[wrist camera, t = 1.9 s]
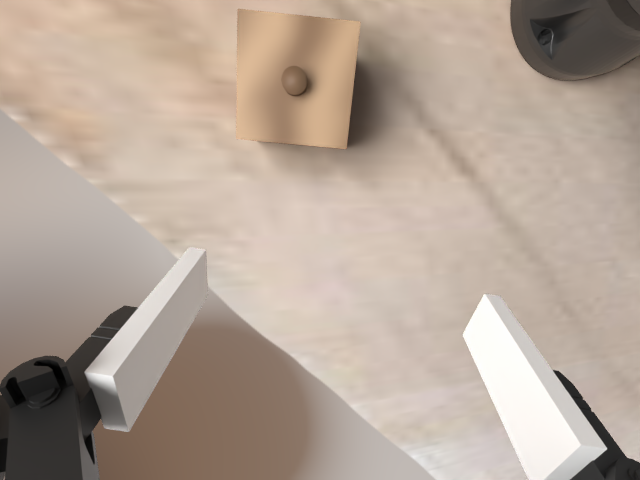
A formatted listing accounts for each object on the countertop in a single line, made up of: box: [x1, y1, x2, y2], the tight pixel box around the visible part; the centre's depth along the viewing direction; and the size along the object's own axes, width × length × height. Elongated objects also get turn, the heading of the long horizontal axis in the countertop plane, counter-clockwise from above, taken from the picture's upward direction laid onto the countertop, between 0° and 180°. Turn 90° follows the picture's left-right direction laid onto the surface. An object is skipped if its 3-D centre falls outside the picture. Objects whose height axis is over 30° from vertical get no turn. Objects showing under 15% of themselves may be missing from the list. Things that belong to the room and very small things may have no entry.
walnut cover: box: [236, 9, 361, 149], centre depth 29 cm, size 10×10×10 cm
